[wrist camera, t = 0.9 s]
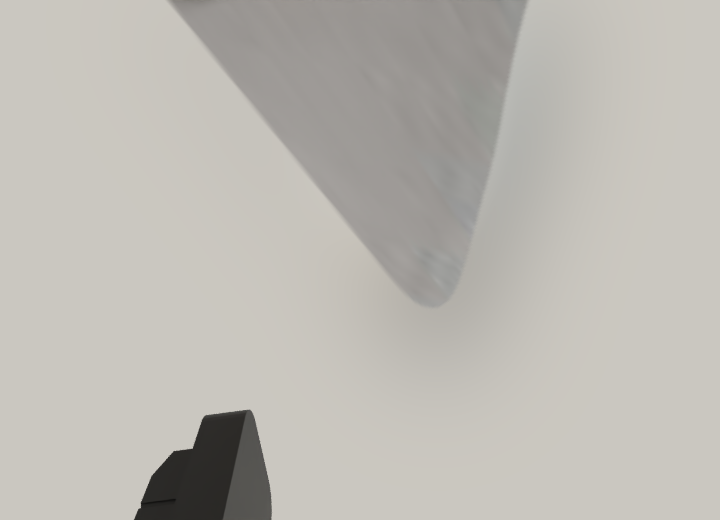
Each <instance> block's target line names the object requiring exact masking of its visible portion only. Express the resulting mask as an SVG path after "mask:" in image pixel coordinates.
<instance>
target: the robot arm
mask: <svg viewBox="0 0 720 520" xmlns="http://www.w3.org/2000/svg"><path fill="white" fill-rule="evenodd" d="M271 512H272V509H271V492H270V485H269V480H268V475H267V471H266V467H265V462H264V458H263V453H262V449H261V444H260V440H259V436H258V432H257V427H256V423H255V419H254V416H253V413H252V411H251V410H243V411H235V412H228V413H220V414H213V415H206V416H204V418H203V419H202V422H201V425H200V428H199V431H198V434H197V437H196V441H195V443H194V446H193V449H187V450H180V451H174V452H173V453H172V454H171V455H170V456H169V457H168V458H167V459H166V461H165V462H164V463H163V464H162V465H161V466H160V467H159V468H158V470H157V471H156V472H155V473H154V474H153V475H152V477H151V479H150V482H149V484H148V486H147V489H146V491H145V494H144V497H143V499H142V501H141V509H138V511H137V514H136V516H135V519H134V520H271V514H272V513H271Z"/></svg>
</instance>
